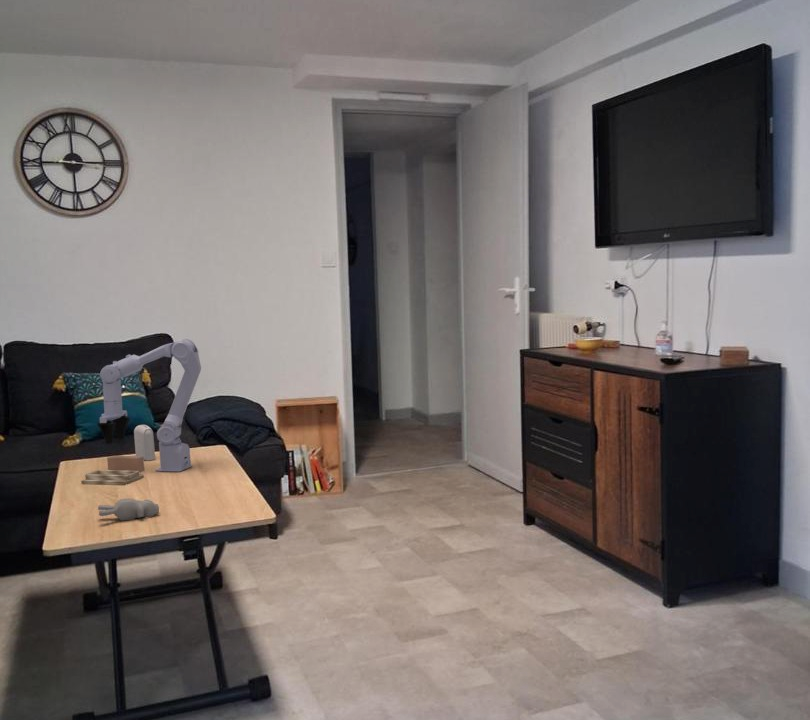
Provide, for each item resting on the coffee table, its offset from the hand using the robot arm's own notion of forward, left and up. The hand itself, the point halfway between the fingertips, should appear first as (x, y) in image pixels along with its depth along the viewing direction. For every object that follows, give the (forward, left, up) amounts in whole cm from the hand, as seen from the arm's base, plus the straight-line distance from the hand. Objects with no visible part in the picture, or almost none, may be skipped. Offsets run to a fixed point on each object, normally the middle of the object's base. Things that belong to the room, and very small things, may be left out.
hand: (115, 440), depth 272 cm
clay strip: (-2, -2, -11) cm, 11 cm away
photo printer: (+3, -21, -11) cm, 24 cm away
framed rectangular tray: (-6, +11, -11) cm, 16 cm away
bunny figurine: (-38, +49, -11) cm, 63 cm away
